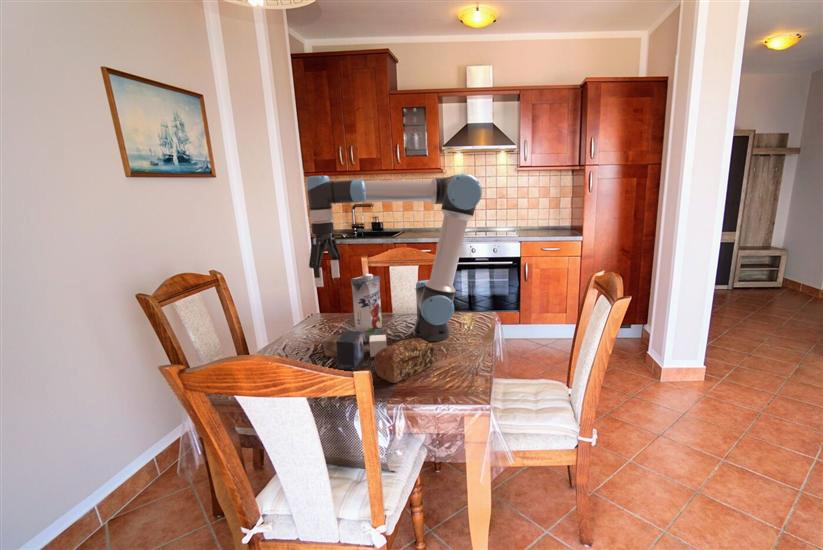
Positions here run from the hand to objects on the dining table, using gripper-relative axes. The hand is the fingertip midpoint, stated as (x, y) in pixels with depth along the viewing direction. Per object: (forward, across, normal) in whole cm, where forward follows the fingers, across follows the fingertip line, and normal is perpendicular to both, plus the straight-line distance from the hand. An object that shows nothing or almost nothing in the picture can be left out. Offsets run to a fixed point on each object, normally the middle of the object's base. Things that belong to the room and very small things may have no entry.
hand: (328, 281), depth 140 cm
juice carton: (+28, -18, +7) cm, 34 cm away
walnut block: (+28, -2, 0) cm, 28 cm away
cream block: (+28, -4, +15) cm, 33 cm away
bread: (+29, +8, +29) cm, 42 cm away
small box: (+28, +6, +9) cm, 30 cm away
